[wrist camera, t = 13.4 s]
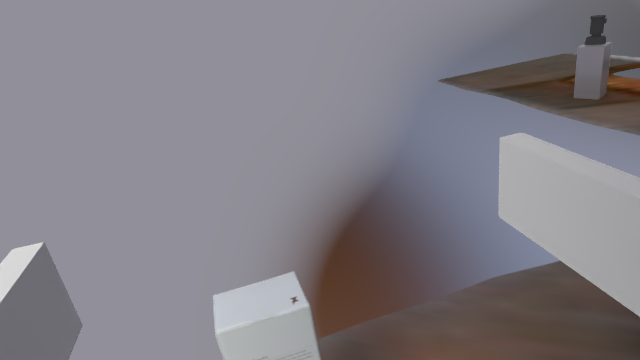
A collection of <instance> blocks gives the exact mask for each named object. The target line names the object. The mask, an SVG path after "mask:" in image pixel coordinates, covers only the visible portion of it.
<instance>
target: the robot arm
mask: <svg viewBox="0 0 640 360" xmlns="http://www.w3.org/2000/svg"><path fill="white" fill-rule="evenodd" d="M499 159H500V160H499V161H500V162H499V217H500V218H501V219H503V220H504V221H506V222H507V223H508V224H510V225H511V226H513V227H514V228H515V229H517V230H518V231H520V232H521V233H522V234H524V235H525V236H527V237H528V238H530V239H531V240H533V241H534V242H535V243H537V244H538V245H539V246H541V247H542V248H544V249H545V250H547V251H548V252H550V253H551V254H552V255H554V256H555V257H556V258H558V259H559V260H561V261H562V262H563V263H565V264H566V265H568V266H569V267H570V268H572V269H573V270H575V271H576V272H577V273H579V274H580V275H582V276H583V277H584V278H586V279H587V280H589V281H590V282H592V283H593V284H594V285H596V286H597V287H599V288H600V289H601V290H603V291H604V292H606V293H607V294H608V295H610V296H611V297H613V298H614V299H615V300H617V301H618V302H620V303H621V304H623V305H624V306H625V307H627V308H628V309H630V310H631V311H632V312H634V313H635V314H637V315H638V316H639V317H640V178H639V177H636V176H634V175H631V174H629V173H626V172H623V171H621V170H618V169H616V168H613V167H610V166H608V165H605V164H603V163H600V162H597V161H594V160H592V159H590V158H587V157H584V156H582V155H579V154H577V153H574V152H571V151H569V150H566V149H564V148H561V147H559V146H556V145H553V144H551V143H548V142H545V141H543V140H540V139H538V138H535V137H533V136H530V135H527V134H525V133H517V134H513V135H509V136H504V137H500V158H499ZM81 328H82V323H81V321H80V318H79V316H78V314H77V312H76V310H75V308H74V306H73V303H72V301H71V299H70V297H69V295H68V292H67V290H66V288H65V286H64V284H63V282H62V279H61V277H60V275H59V273H58V271H57V269H56V266H55V264H54V262H53V260H52V258H51V256H50V253H49V251H48V249H47V247H46V245H45V242H42V243H38V244H33V245H29V246H25V247H20V248H16V249H13V250H11V252H10V253H9V254H8V255H7V257H6V258H5V259H4V260H3V261H2V263H1V264H0V360H68V359H69V357H70V355H71V352H72V350H73V347H74V345H75V342H76V340H77V337H78V335H79V333H80V330H81Z"/></svg>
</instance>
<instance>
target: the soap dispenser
mask: <svg viewBox="0 0 640 360" xmlns="http://www.w3.org/2000/svg"><path fill="white" fill-rule="evenodd" d="M605 17H606V16H605V15H598V16H591V27H590V34H592V36H590V37H587V38H586V41H585V44H583V45H581V46H579V47H578V52H577V64H576V76H575V88H574V98H580V99H600V98H601V97H603V96H604V95H605V94H606V90H607V82H608V73H609V64H610V55H611V46H612V42H606V37H605V36H601V33H603V28H604V23H606V20H607V19H606V18H605Z"/></svg>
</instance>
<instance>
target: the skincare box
mask: <svg viewBox="0 0 640 360" xmlns="http://www.w3.org/2000/svg"><path fill="white" fill-rule="evenodd" d="M213 305H214V306H213V307H214V325H215V336H216V339H217V342H218V344H219V347H220V350H221V353H222V356H223V359H224V360H321V357H320V352H319V347H318V342H317V338H316V333H315V328H314V324H313V318H312V313H311V307H310V304H309V302H308V300H307V297H306V295H305V293H304V291H303V289H302V286H301V285H300V282H299V280H298V278H297V275H296V273H295V272H290V273H287V274H284V275H280V276H277V277H274V278H271V279H267V280H264V281H261V282H257V283H254V284H250V285H247V286H244V287H240V288H237V289H233V290H230V291H227V292H223V293H220V294H216V295H214V296H213Z"/></svg>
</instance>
